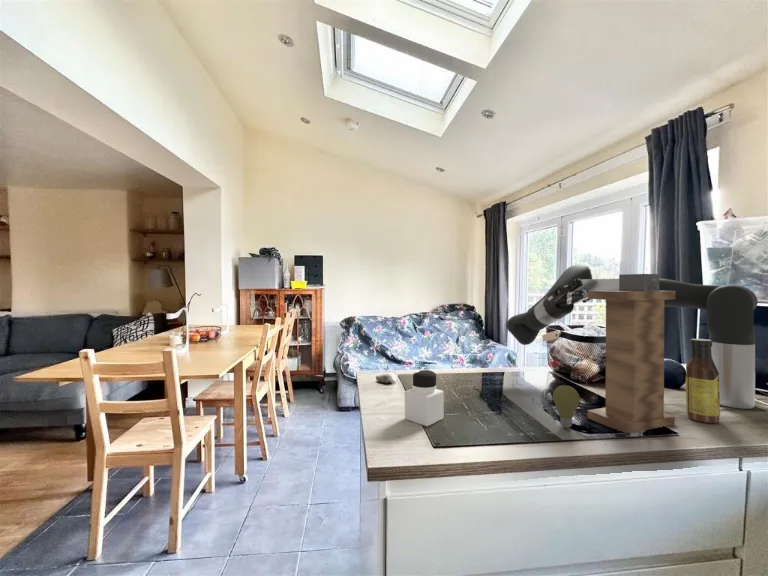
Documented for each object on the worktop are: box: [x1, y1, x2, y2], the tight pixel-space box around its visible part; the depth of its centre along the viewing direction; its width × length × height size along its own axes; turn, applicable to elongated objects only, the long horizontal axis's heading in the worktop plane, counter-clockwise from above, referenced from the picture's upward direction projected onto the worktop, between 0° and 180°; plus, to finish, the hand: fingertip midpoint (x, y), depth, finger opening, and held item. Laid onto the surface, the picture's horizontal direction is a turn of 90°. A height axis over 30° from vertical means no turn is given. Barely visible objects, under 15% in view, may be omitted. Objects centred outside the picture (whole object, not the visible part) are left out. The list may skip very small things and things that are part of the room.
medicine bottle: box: [404, 369, 445, 427], centre depth 90 cm, size 7×7×12 cm
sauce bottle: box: [685, 338, 721, 424], centre depth 89 cm, size 7×6×20 cm
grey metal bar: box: [575, 273, 660, 291], centre depth 92 cm, size 5×20×4 cm, turn 19°
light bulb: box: [552, 384, 580, 429], centre depth 84 cm, size 6×6×10 cm
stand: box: [587, 291, 676, 434], centre depth 87 cm, size 16×10×32 cm, turn 109°
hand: (592, 281), depth 97 cm, fingers open, 8 cm apart
